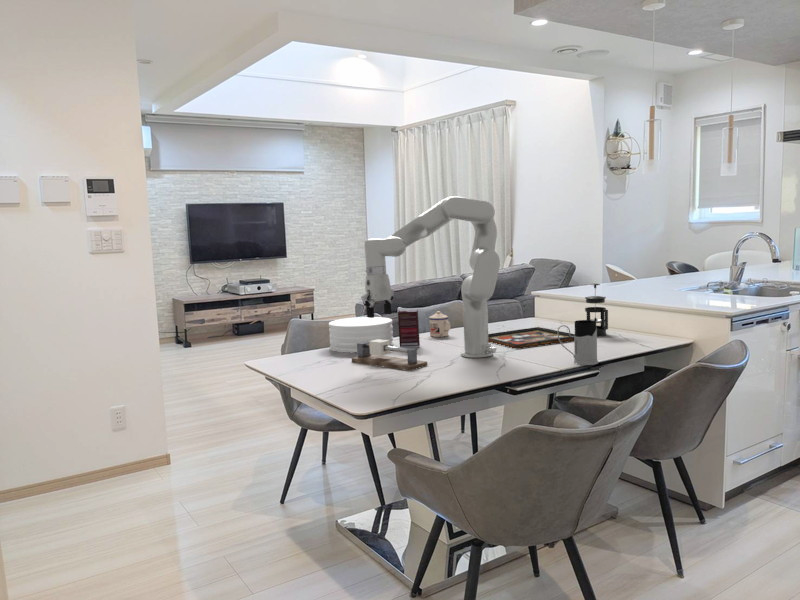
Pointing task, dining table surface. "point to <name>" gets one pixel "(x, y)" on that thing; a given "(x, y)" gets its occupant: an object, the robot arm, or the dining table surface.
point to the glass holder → (584, 342)
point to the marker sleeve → (379, 347)
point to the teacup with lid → (439, 325)
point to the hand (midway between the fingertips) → (379, 315)
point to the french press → (604, 320)
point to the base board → (389, 362)
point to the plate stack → (358, 332)
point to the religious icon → (529, 337)
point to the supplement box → (408, 329)
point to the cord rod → (364, 349)
